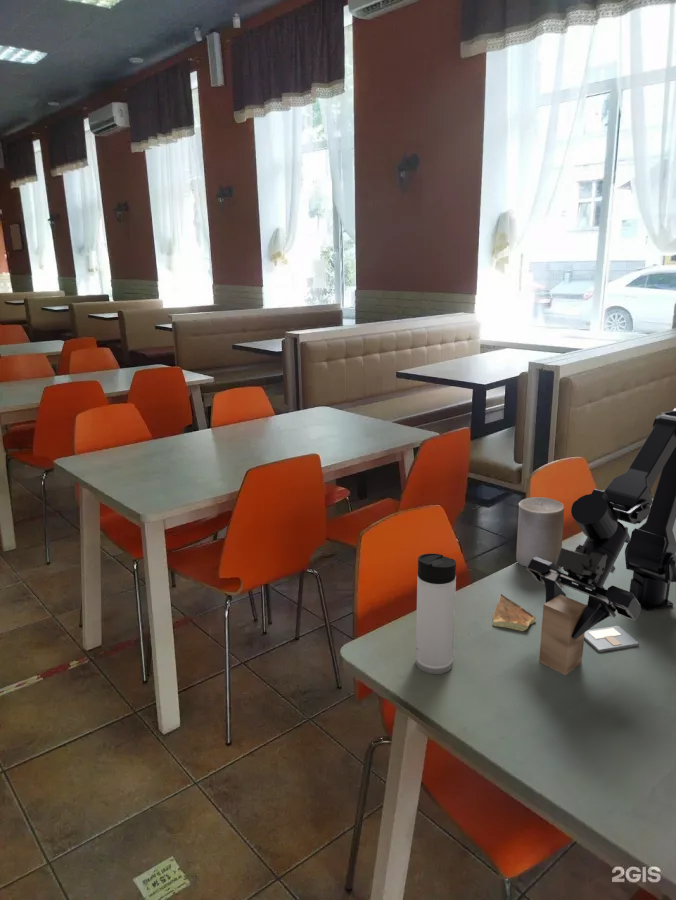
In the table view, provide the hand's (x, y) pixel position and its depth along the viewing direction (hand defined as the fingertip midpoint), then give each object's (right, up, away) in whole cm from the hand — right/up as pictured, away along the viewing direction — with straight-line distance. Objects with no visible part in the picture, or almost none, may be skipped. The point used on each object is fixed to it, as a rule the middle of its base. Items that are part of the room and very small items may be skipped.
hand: (558, 631), depth 110 cm
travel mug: (-20, -7, +3) cm, 22 cm away
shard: (-5, -3, +17) cm, 18 cm away
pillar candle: (+8, +5, +40) cm, 41 cm away
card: (+12, -4, +9) cm, 16 cm away
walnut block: (+1, -6, +3) cm, 7 cm away
